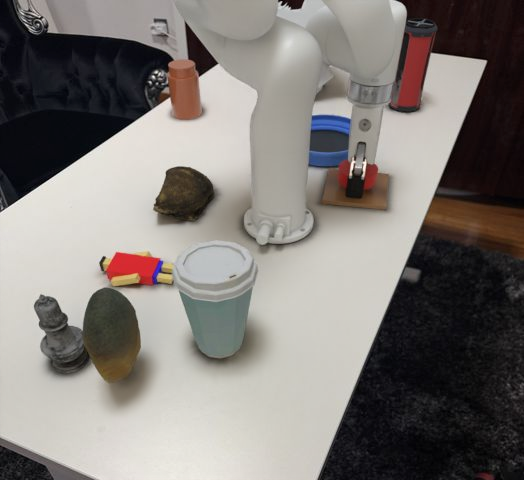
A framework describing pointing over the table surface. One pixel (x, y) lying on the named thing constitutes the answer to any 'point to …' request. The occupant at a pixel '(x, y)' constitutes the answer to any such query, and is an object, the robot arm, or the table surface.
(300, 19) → the jagged white slab
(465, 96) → the table surface
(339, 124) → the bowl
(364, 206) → the coaster
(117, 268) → the toy figure
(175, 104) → the jar
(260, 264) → the table surface
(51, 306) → the grey chess piece
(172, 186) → the seashell
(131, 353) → the mango
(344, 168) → the lid
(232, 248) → the disposable coffee cup
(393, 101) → the speaker
